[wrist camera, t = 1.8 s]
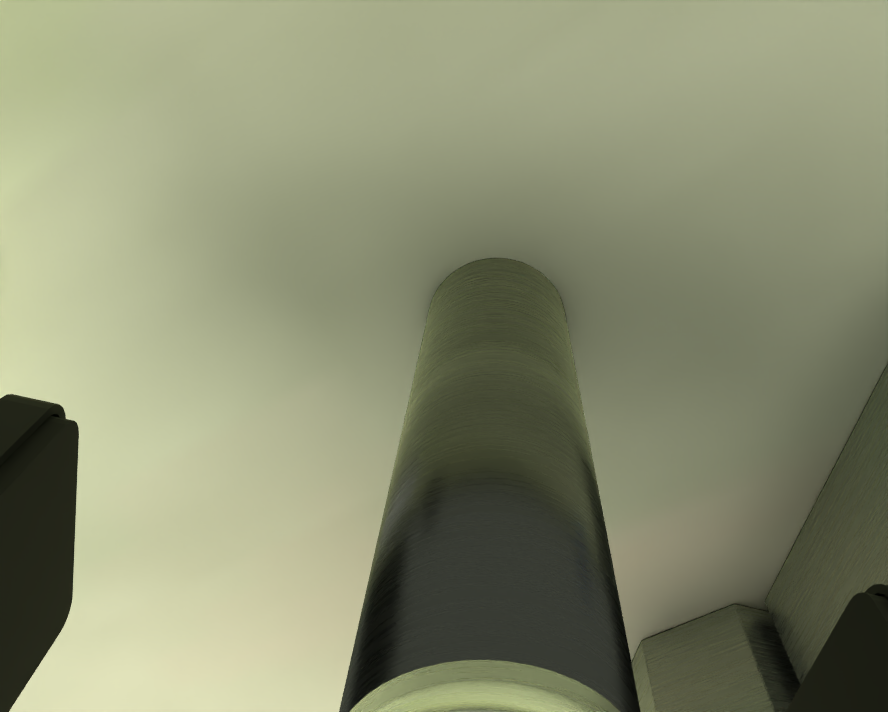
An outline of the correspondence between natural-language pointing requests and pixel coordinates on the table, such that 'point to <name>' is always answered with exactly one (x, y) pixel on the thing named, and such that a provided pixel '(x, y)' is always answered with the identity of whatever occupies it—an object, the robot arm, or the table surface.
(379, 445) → the table surface
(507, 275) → the hinge pin
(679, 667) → the hinge base
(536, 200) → the table surface
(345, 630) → the table surface
